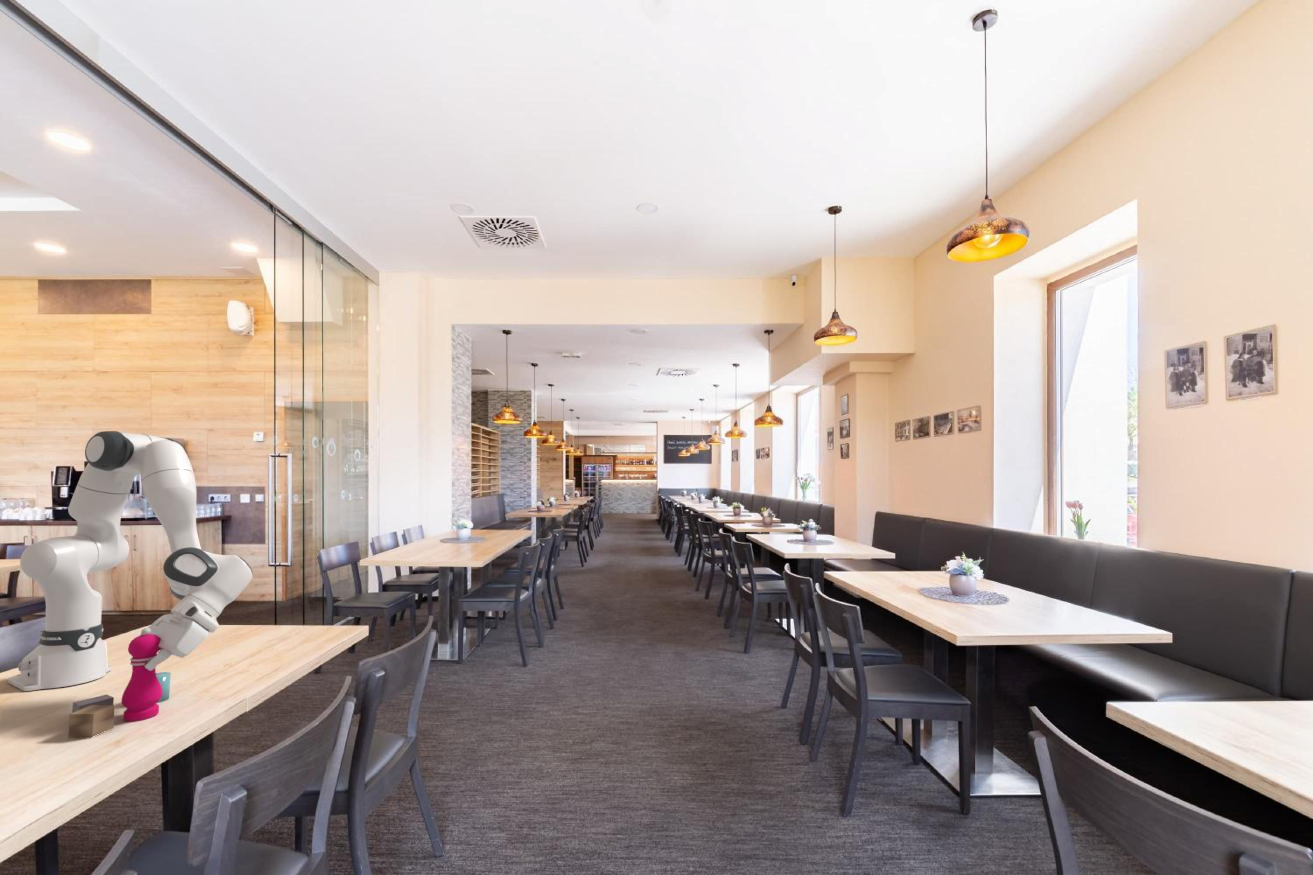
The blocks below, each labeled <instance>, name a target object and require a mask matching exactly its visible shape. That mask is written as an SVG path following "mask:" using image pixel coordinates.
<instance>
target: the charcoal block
mask: <svg viewBox="0 0 1313 875" xmlns="http://www.w3.org/2000/svg"><path fill="white" fill-rule="evenodd" d="M114 700H115V699H114V696H111V695H109V694H106V693H105V694H101V695H99V696H94V697H90V698H86V699H82V700H78V701H73V702H72V706H71V707H72V708H71V713H74V712H76V711H79V710H81V709H83V708H86V707H88V706H91V705H114Z"/></svg>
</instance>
